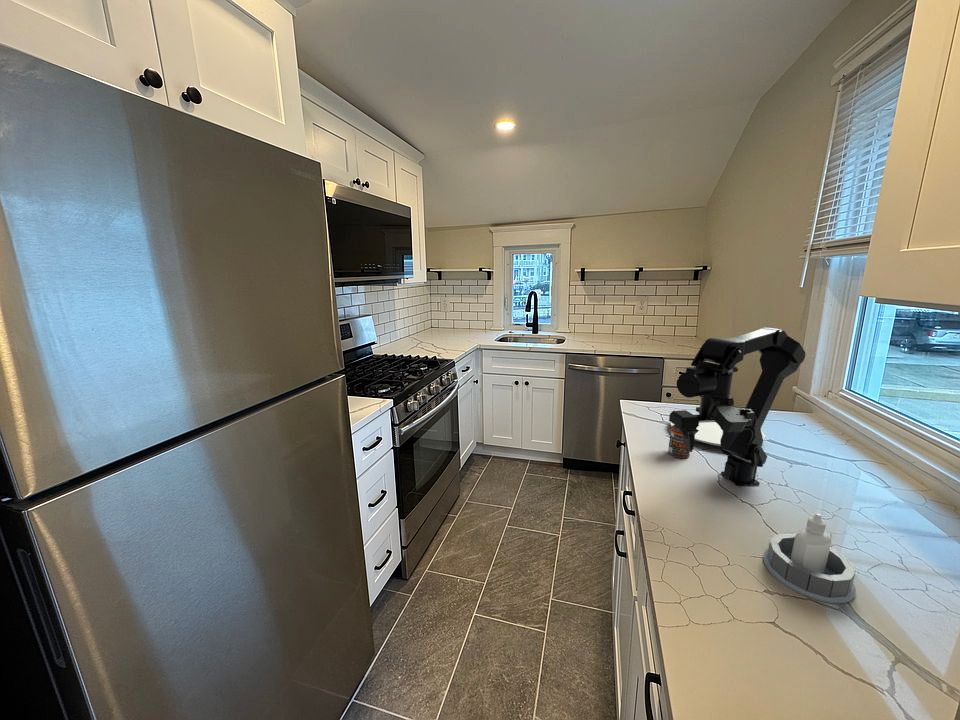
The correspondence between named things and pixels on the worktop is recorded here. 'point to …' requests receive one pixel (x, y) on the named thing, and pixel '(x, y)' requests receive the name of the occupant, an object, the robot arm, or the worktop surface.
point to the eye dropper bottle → (812, 545)
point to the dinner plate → (710, 433)
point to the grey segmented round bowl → (811, 572)
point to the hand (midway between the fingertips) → (707, 450)
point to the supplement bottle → (677, 444)
